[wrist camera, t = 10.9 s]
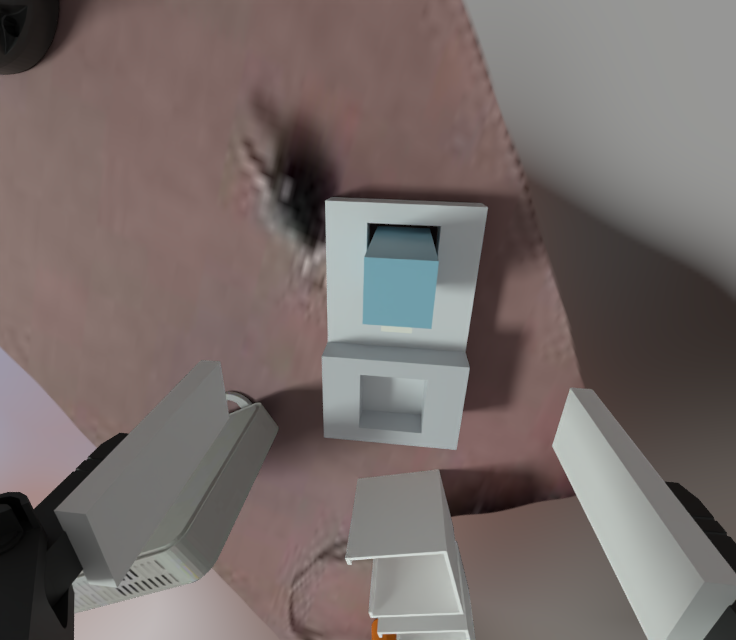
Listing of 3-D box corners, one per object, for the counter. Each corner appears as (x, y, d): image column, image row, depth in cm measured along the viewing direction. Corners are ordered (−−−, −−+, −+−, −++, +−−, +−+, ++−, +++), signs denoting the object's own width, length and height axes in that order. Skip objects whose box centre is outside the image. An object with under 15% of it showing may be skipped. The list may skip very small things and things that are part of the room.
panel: (331, 196, 35) (317, 204, 30) (481, 203, 34) (495, 212, 29) (334, 403, 45) (323, 437, 40) (450, 413, 44) (456, 449, 38)
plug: (377, 225, 36) (364, 257, 25) (429, 228, 35) (439, 261, 25) (375, 286, 38) (362, 338, 27) (423, 289, 38) (429, 343, 27)
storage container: (468, 587, 57) (480, 679, 47) (399, 591, 59) (397, 679, 49) (438, 468, 48) (446, 550, 38) (358, 477, 50) (345, 558, 40)
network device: (260, 375, 44) (157, 528, 26) (298, 428, 47) (229, 599, 29) (113, 439, 51) (-47, 594, 33) (154, 482, 54) (26, 647, 36)
